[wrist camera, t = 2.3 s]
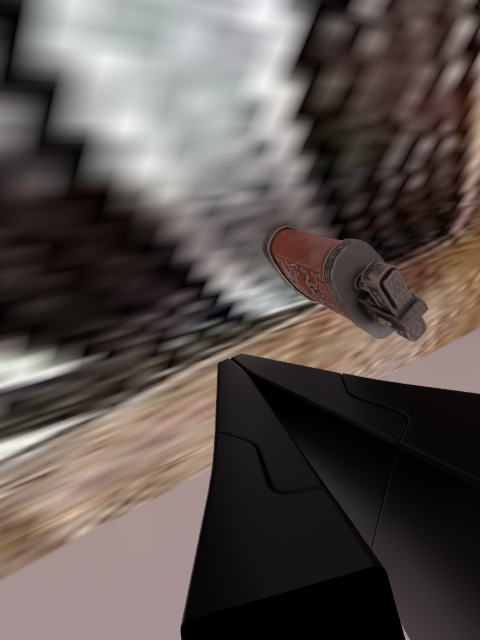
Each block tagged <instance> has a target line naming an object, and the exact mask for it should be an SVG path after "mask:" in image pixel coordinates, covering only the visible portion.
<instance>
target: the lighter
mask: <svg viewBox="0 0 480 640" xmlns="http://www.w3.org/2000/svg"><path fill="white" fill-rule="evenodd" d="M263 252H264V254H265V256H266V257H267V259H268V261H269V262H270V264H271V266H272V267H273V269H274V270H275V272H276V273H277V274H278V275H279V276H280V278H281V279H282V280H283V281H284V282H285V283H286V284H287V285H288V286H289V287H290V288H292V289H293V290H294V291H295V292H296V293H298V294H300V295H301V296H303V297H305V298H306V299H308V300H310V301H311V302H314V303H320V304H322V305H324V306H325V307H327V308H329V309H331V310H333V311H335V312H336V313H338V314H340V315H342V316H344V317H345V318H347V319H349V320H351V321H352V322H353V323H354V324H355V325H356V326H357V327H359V328H360V329H362V330H364V331H365V332H367V333H368V334H370V335H372V336H374V337H376V338H378V339H382V338H386V337H387V336H389V335H390V334H391V333H392V332H393V331H395V332H396V333H397V334H398V335H400V336H402V337H404V338H406V339H408V340H410V341H412V342H416V341H417V340H419V339H420V338H421V336H422V335H423V334H424V333H425V331H426V329H427V325H426V323H425V321H424V319H423V317H422V315H423V314H424V313H425V312H426V311H427V310H428V307H427V305H426V303H425V302H423V301H422V300H421V299H419V298H418V297H416V296H415V295H413V294H412V293H410V292H409V290H408V288H407V286H406V284H405V282H404V280H403V278H402V276H401V274H400V272H399V270H398V268H397V267H396V266H394V265H390V264H386V263H385V262H384V260H383V259H382V257H381V256H380V255H379V254H378V253H377V252H376V251H375V250H374V249H373V248H372V247H371V246H370V245H369V244H368V243H366V242H364V241H361V240H356V239H345V240H343V241H342V240H337V239H332V238H328V237H323V236H319V235H314V234H310V233H305V232H300V231H297V230H295V229H294V228H292V227H290V226H286V225H277V226H275V227H273V228H272V229H270V230H269V231H268V233H267V234H266V236H265V238H264V241H263Z"/></svg>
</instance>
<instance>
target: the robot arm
mask: <svg viewBox="0 0 480 640" xmlns="http://www.w3.org/2000/svg"><path fill="white" fill-rule="evenodd" d="M401 624H402V625H403V628H404V630H405V631H406V633H407V635H408V637H409V639H410V640H480V394H477V393H470V392H462V391H455V390H447V389H440V388H432V387H424V386H417V385H410V384H402V383H395V382H389V381H382V380H376V379H371V378H365V377H359V376H354V375H349V374H344V373H343V374H342V375H341V374H340V373H337V372H332V371H327V370H322V369H317V368H312V367H307V366H302V365H297V364H292V363H287V362H282V361H277V360H272V359H267V358H262V357H257V356H252V355H247V354H239V355H237V356H234V357H232V358H231V359H226V360H224V361H221V362H219V363H218V373H217V396H216V420H215V435H214V452H213V463H212V471H211V477H210V483H209V489H208V495H207V500H206V505H205V510H204V515H203V519H202V525H201V529H200V534H199V540H198V545H197V549H196V554H195V559H194V564H193V570H192V574H191V579H190V584H189V589H188V595H187V599H186V604H185V609H184V614H183V619H182V624H181V639H182V640H405V636H404V633H403V629H402V625H401Z"/></svg>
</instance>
